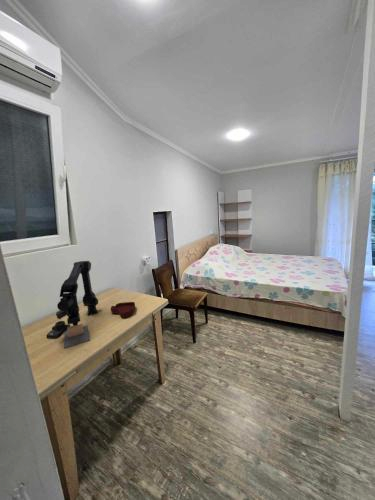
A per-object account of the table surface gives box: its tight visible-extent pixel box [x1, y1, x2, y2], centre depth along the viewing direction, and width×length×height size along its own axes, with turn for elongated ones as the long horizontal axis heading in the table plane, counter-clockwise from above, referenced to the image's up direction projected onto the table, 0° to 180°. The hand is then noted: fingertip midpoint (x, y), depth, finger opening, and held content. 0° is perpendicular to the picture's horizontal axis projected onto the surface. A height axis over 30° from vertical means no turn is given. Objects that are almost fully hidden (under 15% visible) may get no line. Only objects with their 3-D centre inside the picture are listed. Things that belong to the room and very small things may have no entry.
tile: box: [67, 323, 84, 337], centre depth 122 cm, size 2×8×6 cm, turn 120°
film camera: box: [46, 320, 71, 339], centre depth 127 cm, size 13×8×10 cm
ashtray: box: [110, 301, 136, 319], centre depth 150 cm, size 18×16×5 cm
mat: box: [63, 325, 91, 349], centre depth 122 cm, size 18×13×1 cm
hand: (75, 327), depth 123 cm, fingers closed
